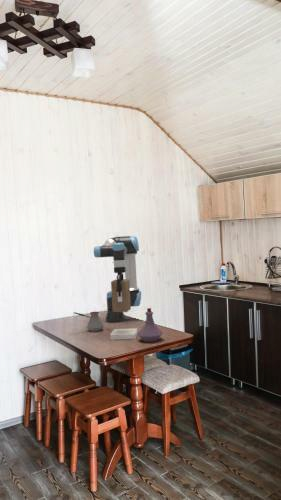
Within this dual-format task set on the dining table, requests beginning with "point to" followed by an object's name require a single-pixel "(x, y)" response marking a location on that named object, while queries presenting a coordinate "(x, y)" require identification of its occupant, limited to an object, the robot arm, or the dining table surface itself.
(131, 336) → the white square plate
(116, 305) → the wooden block
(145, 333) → the flask
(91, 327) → the coffee pot
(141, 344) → the dining table surface
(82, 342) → the dining table surface
